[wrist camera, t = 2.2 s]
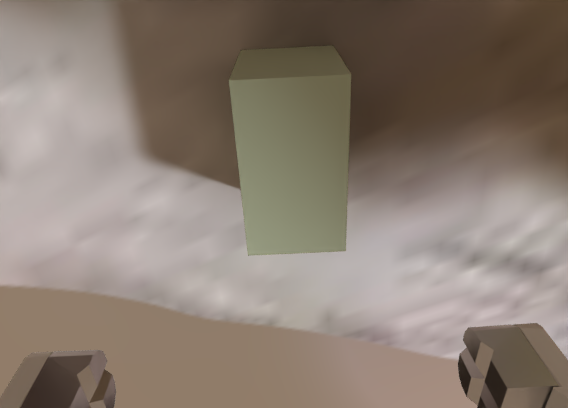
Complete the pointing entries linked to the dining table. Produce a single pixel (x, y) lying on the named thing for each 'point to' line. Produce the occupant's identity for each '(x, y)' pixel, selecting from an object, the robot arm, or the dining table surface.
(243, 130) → the sage block
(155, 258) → the dining table surface
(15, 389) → the robot arm
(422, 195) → the dining table surface
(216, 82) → the dining table surface
